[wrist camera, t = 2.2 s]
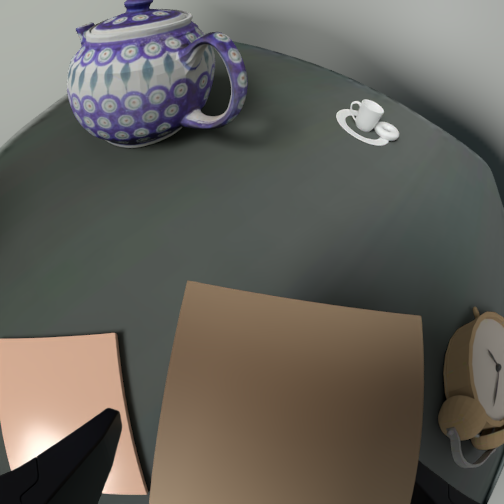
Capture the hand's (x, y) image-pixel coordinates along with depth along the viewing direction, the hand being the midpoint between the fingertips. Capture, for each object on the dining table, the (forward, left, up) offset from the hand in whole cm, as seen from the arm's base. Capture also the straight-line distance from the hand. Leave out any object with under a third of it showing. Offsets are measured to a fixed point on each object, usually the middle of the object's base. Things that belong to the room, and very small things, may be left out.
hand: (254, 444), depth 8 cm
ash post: (+1, -1, -9) cm, 9 cm away
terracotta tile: (+8, +9, -9) cm, 15 cm away
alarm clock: (-17, -15, -9) cm, 24 cm away
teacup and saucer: (+8, -34, -10) cm, 36 cm away
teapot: (+28, -13, -9) cm, 32 cm away
